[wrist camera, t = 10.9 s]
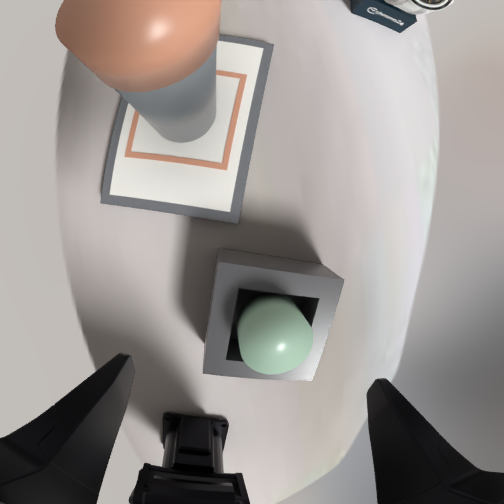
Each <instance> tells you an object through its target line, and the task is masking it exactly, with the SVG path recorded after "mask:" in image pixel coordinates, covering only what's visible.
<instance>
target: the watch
mask: <svg viewBox="0 0 504 504" xmlns="http://www.w3.org/2000/svg"><path fill="white" fill-rule="evenodd" d="M350 1H351V11H352V13H353V14H356V15H359V16H361V17H364V18H367V19H369V20H372V21H374V22H377V23H379V24H381V25H384V26H386V27H388V28H390V29H393V30H395V31H397V32H399V33H401V32H402V31H404V30H405V29H406V28H408V27H409V26H411V25H412V24H414V23H415V22H417V19H416V15H415V14H422V13H424V14H427V13H430V12H432V11H438V10H442V9H445V8H446V7H447V6H449V5H450V4H453V2H454V0H350Z"/></svg>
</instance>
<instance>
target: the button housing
mask: <svg viewBox="0 0 504 504" xmlns="http://www.w3.org/2000/svg"><path fill="white" fill-rule="evenodd" d="M343 283H344V279H342V278H341V277H339V276H338V275H337V274H335V273H334V272H333V271H331V270H330V269H329V268H327V267H326V266H324V265H323V264H318V263H311V262H305V261H299V260H292V259H286V258H280V257H273V256H267V255H261V254H254V253H248V252H242V251H236V250H229V249H223V248H219V250H218V256H217V262H216V268H215V275H214V281H213V288H212V295H211V301H210V308H209V315H208V322H207V330H206V337H205V345H204V360H203V374H211V375H220V376H230V377H240V378H254V379H271V380H312V379H313V377H314V374H315V371H316V369H317V366H318V363H319V360H320V357H321V354H322V352H323V349H324V346H325V343H326V340H327V337H328V334H329V330H330V327H331V324H332V321H333V318H334V314H335V311H336V308H337V304H338V301H339V297H340V294H341V290H342V287H343ZM263 293H279V294H283V295H285V296H287V297H289V298H290V299H291V300H292V301H293V302H294V303H295V304H296V305H297V307H298V308H299V310H300V311H301V313H302V314H303V316H304V317H305V319H306V320H307V322H308V323H309V325H310V327H311V329H312V331H313V346H312V349H311V351H310V353H309V355H308V356H307V358H306V359H305V360H304V361H303V362H302V363H301V364H300V365H299V366H297V367H296V368H294V369H292V370H290V371H288V372H285V373H281V374H263V373H260V372H257V371H255V370H253V369H251V368H250V367H249V366H248V365H247V364H246V363H245V362H244V360H243V359H242V356H241V353H240V348H239V341H238V334H237V327H236V321H237V316H238V313H239V311H240V309H241V308H242V306H243V305H244V304H245V303H246V302H247V301H248V300H250V299H251V298H253V297H255V296H257V295H260V294H263Z"/></svg>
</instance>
